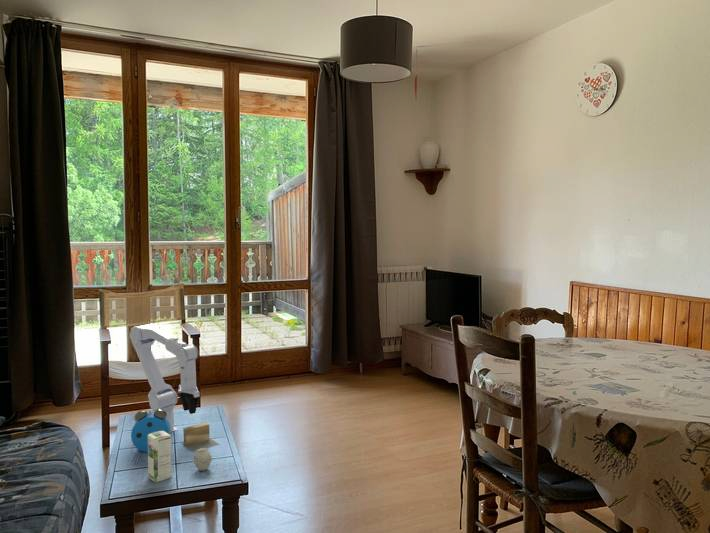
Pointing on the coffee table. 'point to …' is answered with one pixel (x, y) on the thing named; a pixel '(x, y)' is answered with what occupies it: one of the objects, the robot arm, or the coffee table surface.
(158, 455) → the syrup box
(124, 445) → the coffee table surface
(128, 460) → the coffee table surface
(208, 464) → the beige rounded lump
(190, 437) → the oak slab
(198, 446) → the rubber mat
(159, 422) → the alarm clock
